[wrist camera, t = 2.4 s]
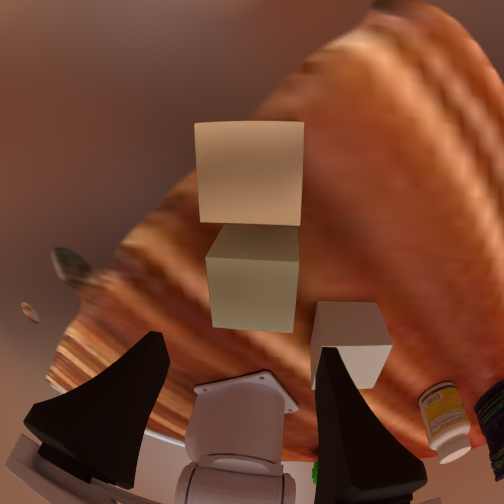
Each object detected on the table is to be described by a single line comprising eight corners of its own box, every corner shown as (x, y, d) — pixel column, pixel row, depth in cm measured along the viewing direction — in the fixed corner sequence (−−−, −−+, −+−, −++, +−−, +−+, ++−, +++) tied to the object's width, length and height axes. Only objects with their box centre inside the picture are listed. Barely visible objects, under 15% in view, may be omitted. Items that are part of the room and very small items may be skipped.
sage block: (292, 288, 21) (292, 333, 17) (228, 284, 22) (213, 326, 17) (297, 226, 19) (299, 262, 15) (224, 223, 20) (205, 257, 15)
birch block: (297, 197, 18) (299, 225, 14) (221, 195, 19) (200, 222, 14) (299, 121, 16) (304, 122, 11) (219, 121, 16) (194, 123, 12)
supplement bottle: (445, 400, 27) (462, 458, 18) (412, 408, 28) (425, 470, 19) (460, 376, 24) (484, 439, 16) (426, 384, 25) (445, 453, 17)
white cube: (363, 345, 23) (372, 388, 19) (309, 344, 24) (311, 389, 19) (376, 301, 21) (392, 345, 17) (317, 300, 21) (322, 345, 17)
